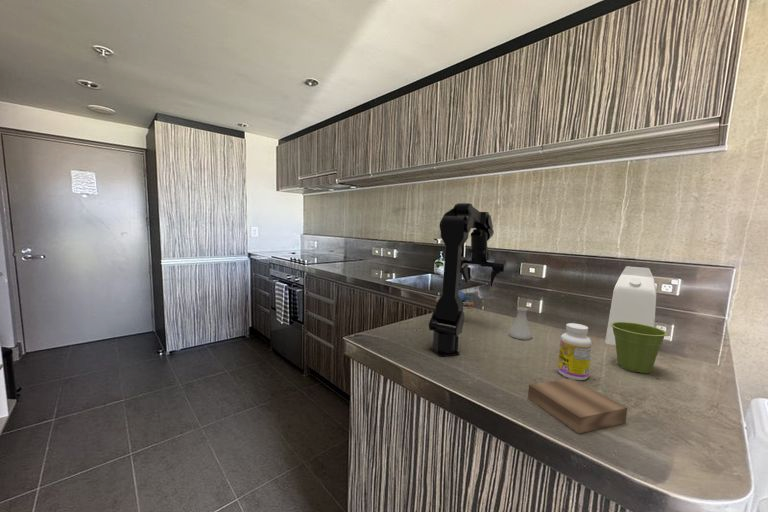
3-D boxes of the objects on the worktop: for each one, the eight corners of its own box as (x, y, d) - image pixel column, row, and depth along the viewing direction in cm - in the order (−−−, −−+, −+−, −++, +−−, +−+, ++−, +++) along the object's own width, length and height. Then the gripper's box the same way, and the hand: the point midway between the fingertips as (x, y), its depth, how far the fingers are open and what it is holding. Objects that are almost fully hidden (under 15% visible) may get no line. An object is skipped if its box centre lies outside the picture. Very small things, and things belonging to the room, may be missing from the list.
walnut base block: (578, 433, 55) (580, 417, 54) (527, 398, 66) (528, 384, 66) (625, 422, 58) (627, 407, 58) (569, 390, 70) (570, 378, 70)
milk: (653, 344, 103) (662, 268, 101) (652, 353, 95) (661, 270, 93) (609, 335, 112) (617, 264, 109) (604, 342, 103) (612, 266, 101)
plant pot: (611, 355, 92) (615, 319, 91) (664, 369, 84) (669, 329, 83) (602, 366, 84) (606, 326, 83) (660, 383, 75) (665, 338, 74)
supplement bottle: (553, 367, 82) (557, 320, 81) (580, 370, 81) (585, 323, 80) (563, 379, 75) (568, 328, 74) (593, 383, 74) (598, 331, 73)
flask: (521, 341, 101) (524, 312, 100) (504, 334, 108) (506, 306, 107) (536, 339, 105) (538, 310, 104) (518, 332, 111) (520, 305, 110)
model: (446, 305, 149) (447, 286, 148) (453, 302, 156) (455, 284, 156) (470, 309, 142) (471, 290, 141) (477, 306, 150) (478, 287, 149)
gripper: (510, 241, 115) (509, 280, 119) (461, 239, 124) (462, 274, 129) (503, 249, 106) (503, 291, 110) (451, 246, 116) (453, 284, 120)
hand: (479, 284), depth 118 cm, fingers open, 9 cm apart
